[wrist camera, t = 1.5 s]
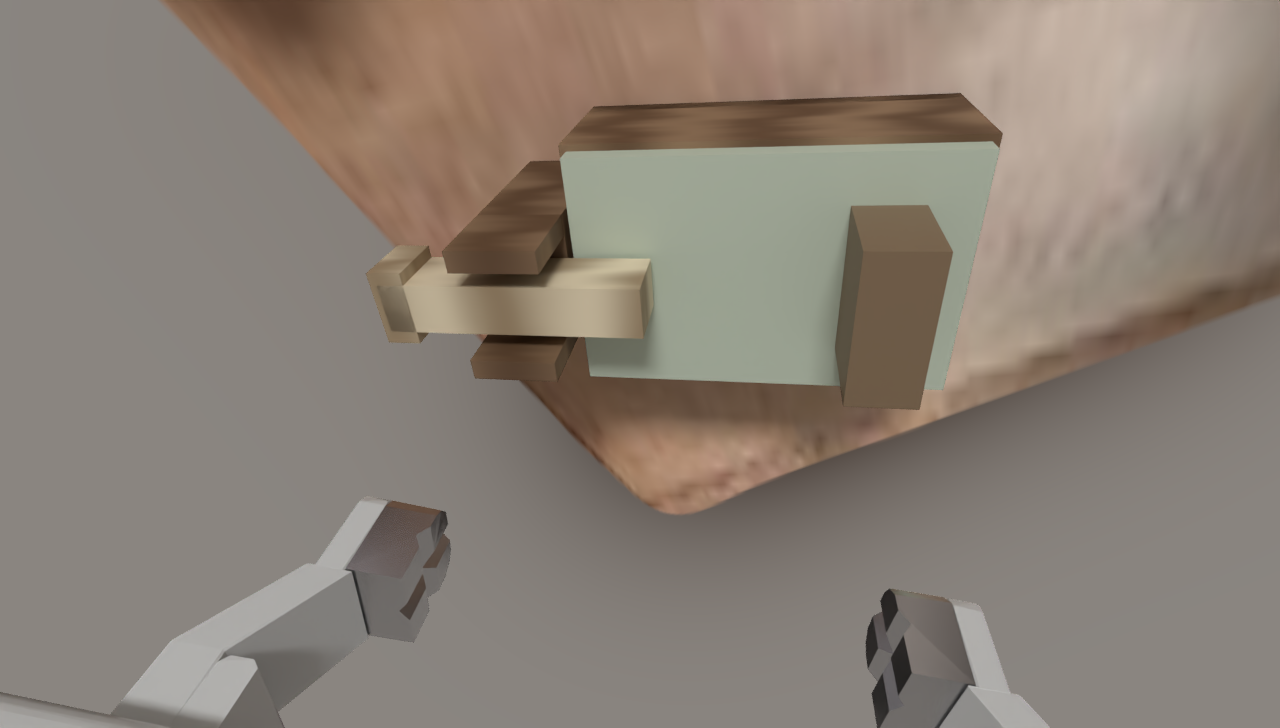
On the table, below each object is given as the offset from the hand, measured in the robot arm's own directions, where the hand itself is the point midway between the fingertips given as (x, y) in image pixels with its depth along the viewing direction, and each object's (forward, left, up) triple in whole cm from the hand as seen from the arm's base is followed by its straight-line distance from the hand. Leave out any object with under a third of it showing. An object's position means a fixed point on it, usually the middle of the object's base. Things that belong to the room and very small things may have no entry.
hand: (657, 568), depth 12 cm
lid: (-2, +4, -20) cm, 21 cm away
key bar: (+9, +4, -19) cm, 21 cm away
